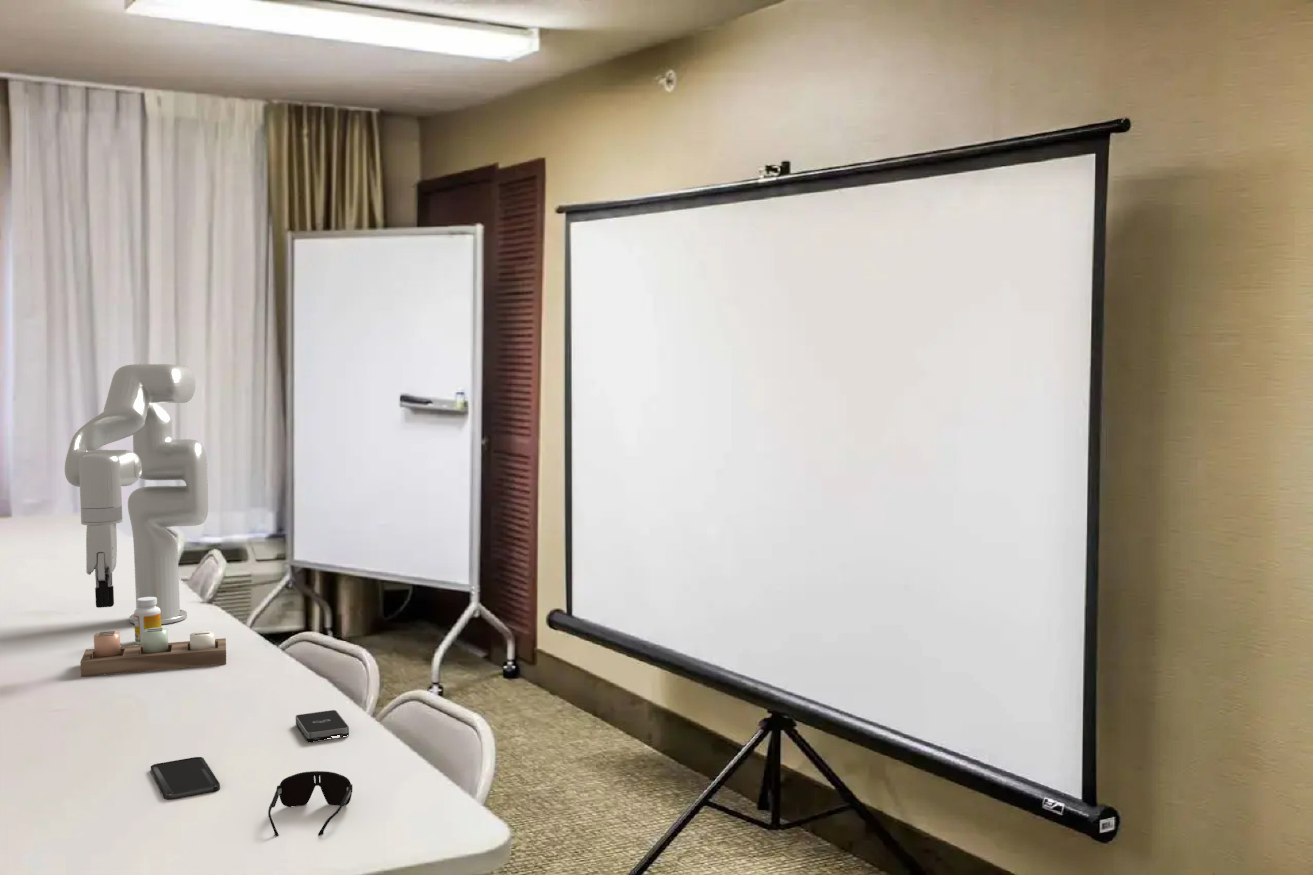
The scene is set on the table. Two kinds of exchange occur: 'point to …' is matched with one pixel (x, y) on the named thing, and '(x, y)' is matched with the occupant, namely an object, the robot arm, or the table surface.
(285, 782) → the sunglasses
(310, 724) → the external hard drive
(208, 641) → the button
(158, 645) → the button
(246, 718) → the table surface
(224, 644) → the button board
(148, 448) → the robot arm
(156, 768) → the phone
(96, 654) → the button
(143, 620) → the supplement bottle
